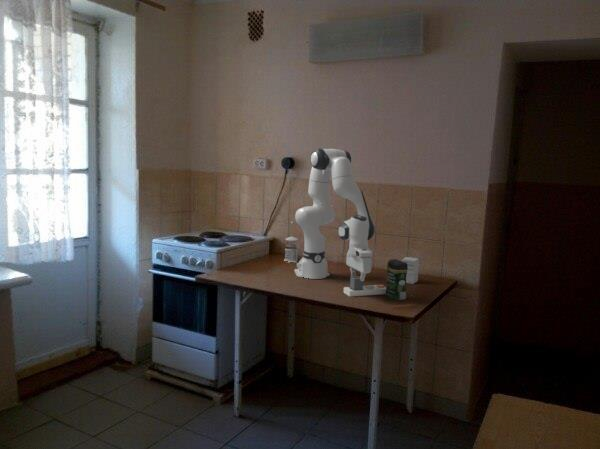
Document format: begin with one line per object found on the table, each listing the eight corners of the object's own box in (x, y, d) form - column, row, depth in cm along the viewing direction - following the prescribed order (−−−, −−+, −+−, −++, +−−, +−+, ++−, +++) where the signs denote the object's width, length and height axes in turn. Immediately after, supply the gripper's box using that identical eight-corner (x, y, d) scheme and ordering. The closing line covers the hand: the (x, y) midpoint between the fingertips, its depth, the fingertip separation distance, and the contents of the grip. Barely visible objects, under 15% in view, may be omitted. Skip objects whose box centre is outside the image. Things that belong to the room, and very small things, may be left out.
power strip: (343, 294, 235) (343, 285, 234) (380, 291, 241) (380, 283, 241) (349, 298, 228) (349, 289, 228) (387, 295, 235) (387, 287, 234)
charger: (349, 292, 234) (350, 276, 233) (358, 292, 236) (359, 275, 235) (353, 295, 230) (354, 278, 229) (362, 294, 232) (363, 278, 230)
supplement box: (404, 279, 268) (406, 256, 266) (417, 281, 264) (419, 258, 262) (400, 281, 262) (401, 258, 260) (413, 284, 258) (415, 260, 256)
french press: (292, 258, 312) (293, 219, 309) (304, 261, 304) (305, 222, 300) (280, 260, 306) (281, 220, 303) (291, 263, 297) (292, 223, 294)
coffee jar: (382, 296, 233) (384, 258, 230) (396, 295, 236) (398, 257, 234) (394, 302, 224) (396, 263, 222) (408, 300, 228) (411, 261, 225)
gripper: (343, 246, 239) (342, 274, 240) (361, 254, 219) (360, 284, 221) (355, 246, 241) (354, 273, 242) (374, 253, 221) (373, 283, 223)
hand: (357, 278), depth 232 cm, fingers open, 8 cm apart
